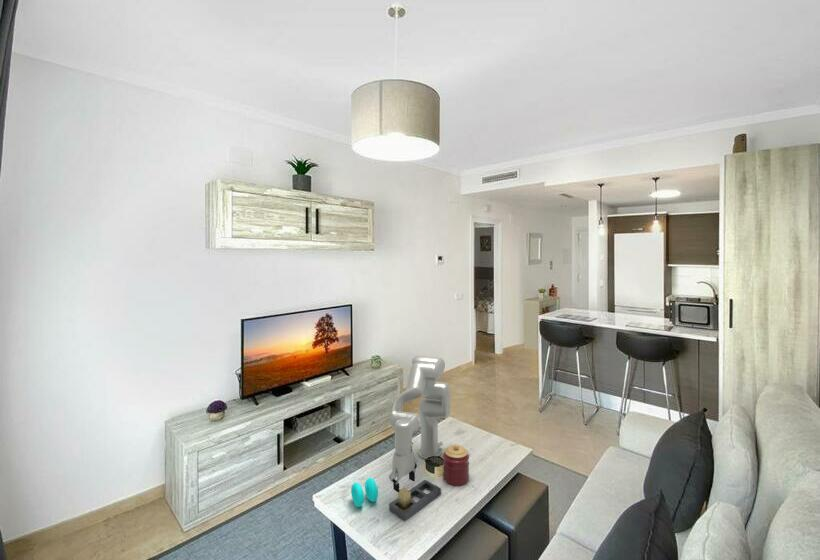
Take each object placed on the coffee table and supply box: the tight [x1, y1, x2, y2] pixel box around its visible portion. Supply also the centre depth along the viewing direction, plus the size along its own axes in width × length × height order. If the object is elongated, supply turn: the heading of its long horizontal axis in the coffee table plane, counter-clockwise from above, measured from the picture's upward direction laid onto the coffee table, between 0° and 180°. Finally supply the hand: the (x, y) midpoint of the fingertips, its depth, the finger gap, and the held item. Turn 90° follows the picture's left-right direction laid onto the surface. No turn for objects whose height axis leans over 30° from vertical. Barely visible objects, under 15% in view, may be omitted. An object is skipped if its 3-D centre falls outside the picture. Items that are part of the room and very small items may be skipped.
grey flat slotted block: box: [388, 479, 442, 522], centre depth 169 cm, size 24×10×3 cm, turn 136°
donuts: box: [350, 477, 379, 508], centre depth 169 cm, size 10×10×10 cm
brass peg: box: [397, 486, 411, 511], centre depth 163 cm, size 4×4×9 cm
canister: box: [442, 444, 470, 487], centre depth 185 cm, size 13×13×18 cm
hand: (404, 485), depth 163 cm, fingers open, 9 cm apart
